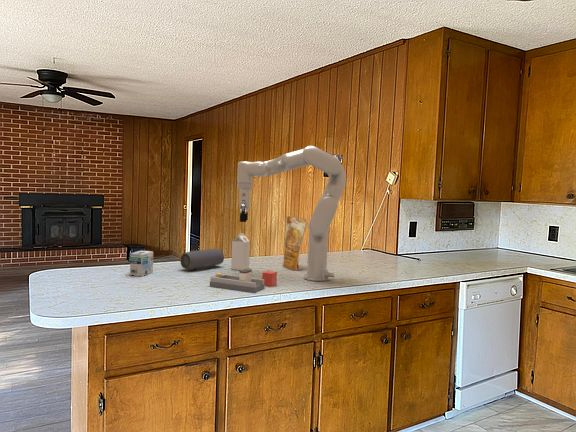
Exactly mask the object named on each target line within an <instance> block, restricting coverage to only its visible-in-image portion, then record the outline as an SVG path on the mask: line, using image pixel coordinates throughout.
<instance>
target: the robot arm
mask: <svg viewBox="0 0 576 432" xmlns="http://www.w3.org/2000/svg"><path fill="white" fill-rule="evenodd" d="M308 166H312V167H314V168H316V169H318V170H319V171H321V172H324V173H325V174H327V176H328V179H327V180H328V181H327V183H326V186H325V187H324V191H323V193H322V195H321V197H320V198H319V199H318V201H317V203H316V206H315V207H314V211H313V213H312V214H311V217H310V219H309V222H308V245H307V247H308V248H307V250H308V251H307V269H306V271H307V272H306V274H304V275H303V278H304V279H305V280H307V281H313V282H326V281H329V280H330V278H335V273H334V272H329V269H327V268H328V267H327V266H328V248H329V245H328V244H329V230H330V229H329V228H330V226H331V225H332V222H333V220H334V217H335V215H336V214H337V213H336V212H337V210H338V206H339V205H338V204H339V201H340V199H341V197H342V194H343V192H344V189H345V186H346V183H347V174H346V170H345V168H344V166H343V164H342V162H341V161H340V159H338V158H337V157H336V156H333V155H332V154H329V153H328V152H326V151H324V150H322V149H320V148H319V147H317V146H315V145H307V146H305V147H303V148H300V149H298V150H294V151H290V152H287V153H283V154H282V155H280V156H279V157H276V158H273V159H270V160H266V161H244V160H243V161H242V160H241V161H239V162H237V174H236V176H237V180H236V181H237V184H236V190H239V196H238V200H239V201H238V203H239V205H238V206H239V210H240V211H239V212H240V214H239V223H246V222H247V221H248V218H249V215H248V214H249V212H248V211H249V210H250V209H251V191H252V190H253V180H254V178H253V176H254V177H258V178H259V177H260V178H267V177H268V176H272V175H276V174H277V175H278V174H280V173H284V172H290V171H294V170H296V169H299V168H304V167H308Z"/></svg>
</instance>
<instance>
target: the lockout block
mask: <svg viewBox="0 0 576 432" xmlns="http://www.w3.org/2000/svg"><path fill="white" fill-rule="evenodd" d="M261 275H262V276H261V279H264V284H265V287H270V286H271V287H274V285H275V286H277V285H276V284H277V283H278V281H277V280H278V278H277V277H278V272H277V271H274V270H273V271H271V270H266V271H265V270H264V271H262V273H261Z"/></svg>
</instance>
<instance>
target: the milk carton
mask: <svg viewBox="0 0 576 432" xmlns="http://www.w3.org/2000/svg"><path fill="white" fill-rule="evenodd" d="M250 243H251V242H250V239H249V238H248V237H247V236H246V235H245V233H244V232H242V233H238V235H237V236H236V237H235V238H234V239H233V240H232V241H231V260H230V261H231V262H230V263H231V266H230V268H231V270H234V271H235V270H237V271H241V270H244V269H249V268H250V246H251V245H250Z"/></svg>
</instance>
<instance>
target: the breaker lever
mask: <svg viewBox="0 0 576 432" xmlns="http://www.w3.org/2000/svg"><path fill="white" fill-rule="evenodd" d="M252 271H253V270H252V269H244V270H239V274H238V276H239V281H247V282H251V278H253V277H252V275H253V274H252Z"/></svg>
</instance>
